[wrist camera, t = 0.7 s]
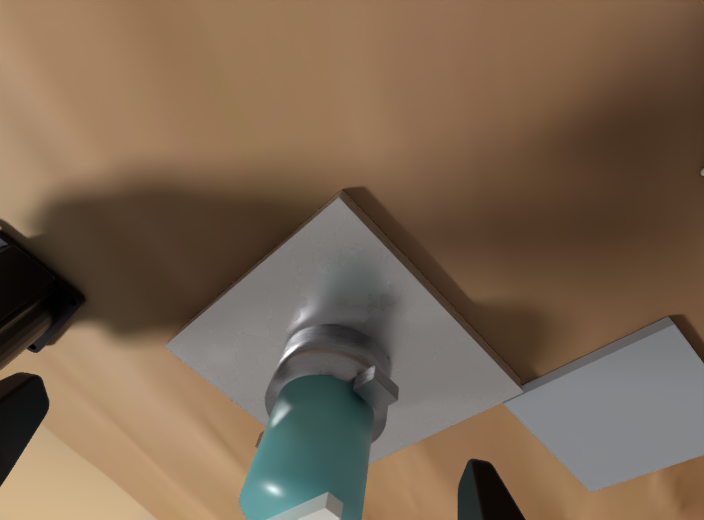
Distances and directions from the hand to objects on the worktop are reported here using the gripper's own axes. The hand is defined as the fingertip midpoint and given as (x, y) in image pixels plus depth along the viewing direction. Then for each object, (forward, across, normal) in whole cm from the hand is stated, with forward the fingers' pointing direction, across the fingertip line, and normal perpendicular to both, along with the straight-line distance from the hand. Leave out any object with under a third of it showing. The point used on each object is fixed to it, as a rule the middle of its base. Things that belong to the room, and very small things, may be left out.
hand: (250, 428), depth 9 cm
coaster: (+12, -16, +9) cm, 23 cm away
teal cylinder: (+9, -1, +9) cm, 13 cm away
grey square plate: (+13, -1, +9) cm, 16 cm away
